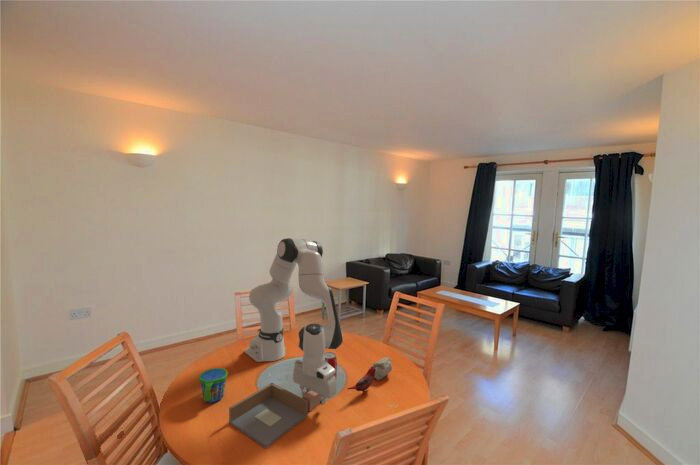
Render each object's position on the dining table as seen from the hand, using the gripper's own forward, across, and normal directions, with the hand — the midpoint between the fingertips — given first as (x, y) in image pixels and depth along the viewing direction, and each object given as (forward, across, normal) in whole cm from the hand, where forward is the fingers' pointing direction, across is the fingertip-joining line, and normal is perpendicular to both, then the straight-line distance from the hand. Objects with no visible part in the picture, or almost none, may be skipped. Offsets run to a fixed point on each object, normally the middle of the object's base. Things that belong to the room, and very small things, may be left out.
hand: (313, 399), depth 126 cm
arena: (+2, -8, -16) cm, 18 cm away
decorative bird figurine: (+3, +12, +18) cm, 21 cm away
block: (+2, 0, 0) cm, 2 cm away
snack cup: (+2, -36, -21) cm, 41 cm away
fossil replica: (+3, +11, +36) cm, 37 cm away
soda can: (+2, -6, +18) cm, 19 cm away
